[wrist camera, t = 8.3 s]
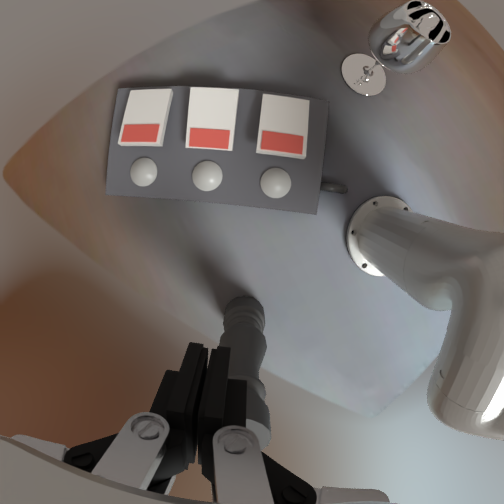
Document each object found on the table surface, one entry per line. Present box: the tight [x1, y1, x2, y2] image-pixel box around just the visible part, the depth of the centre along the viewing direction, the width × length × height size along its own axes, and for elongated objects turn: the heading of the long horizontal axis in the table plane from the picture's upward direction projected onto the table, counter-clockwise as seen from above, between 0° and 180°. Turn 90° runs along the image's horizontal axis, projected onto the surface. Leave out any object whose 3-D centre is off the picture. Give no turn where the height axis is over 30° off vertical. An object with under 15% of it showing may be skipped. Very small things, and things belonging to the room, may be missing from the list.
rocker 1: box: [118, 89, 173, 146], centre depth 33 cm, size 6×8×1 cm
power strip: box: [106, 86, 348, 215], centre depth 38 cm, size 35×16×3 cm, turn 84°
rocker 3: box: [256, 94, 309, 159], centre depth 34 cm, size 6×8×1 cm
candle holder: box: [219, 296, 271, 450], centre depth 33 cm, size 6×6×25 cm
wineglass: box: [341, 0, 451, 96], centre depth 26 cm, size 8×8×20 cm
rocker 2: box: [185, 87, 239, 151], centre depth 34 cm, size 6×8×1 cm
